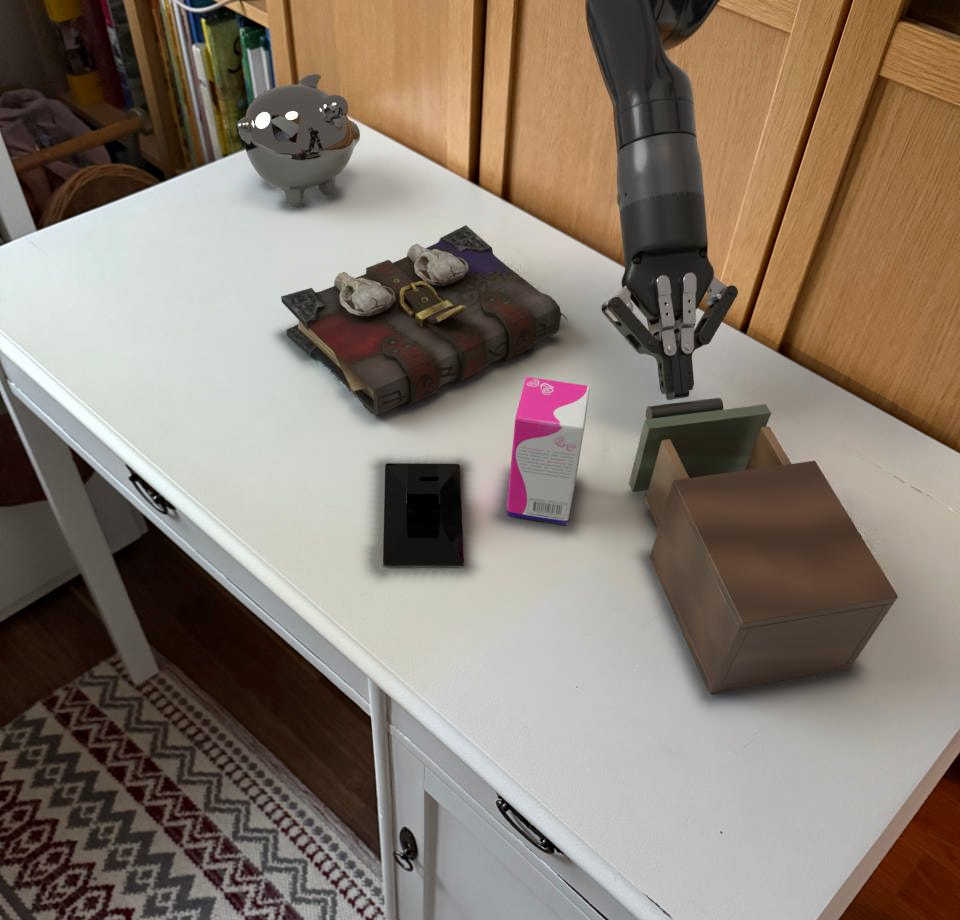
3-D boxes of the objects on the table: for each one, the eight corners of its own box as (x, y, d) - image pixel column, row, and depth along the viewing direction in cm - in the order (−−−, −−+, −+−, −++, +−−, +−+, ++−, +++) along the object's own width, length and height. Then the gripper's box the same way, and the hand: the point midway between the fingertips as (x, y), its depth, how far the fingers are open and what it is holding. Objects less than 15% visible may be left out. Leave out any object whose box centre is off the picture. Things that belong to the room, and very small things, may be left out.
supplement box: (575, 481, 88) (593, 383, 79) (567, 526, 85) (585, 431, 76) (514, 471, 89) (525, 373, 79) (504, 516, 85) (514, 419, 76)
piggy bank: (380, 195, 115) (377, 97, 106) (267, 226, 110) (253, 126, 101) (339, 152, 121) (332, 55, 111) (229, 180, 115) (212, 81, 106)
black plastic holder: (463, 568, 82) (465, 532, 78) (379, 568, 81) (377, 532, 78) (459, 466, 89) (461, 429, 85) (382, 465, 88) (380, 428, 85)
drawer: (614, 451, 90) (628, 386, 83) (724, 437, 92) (747, 372, 85) (678, 596, 80) (700, 534, 73) (801, 576, 82) (832, 514, 75)
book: (372, 430, 91) (368, 368, 85) (280, 333, 99) (271, 270, 93) (581, 337, 101) (590, 276, 95) (482, 256, 109) (485, 195, 103)
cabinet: (649, 557, 83) (672, 479, 76) (779, 537, 86) (815, 460, 78) (709, 693, 75) (742, 623, 68) (851, 668, 77) (898, 596, 70)
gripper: (604, 194, 79) (624, 403, 83) (748, 182, 82) (763, 386, 85) (578, 218, 87) (597, 410, 90) (711, 207, 89) (726, 394, 92)
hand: (678, 398), depth 87 cm, fingers closed
